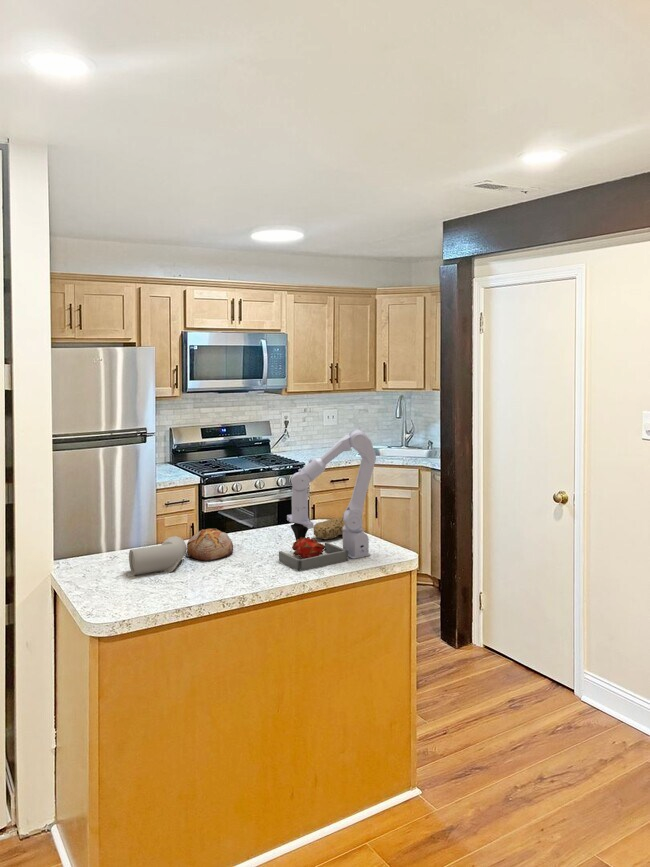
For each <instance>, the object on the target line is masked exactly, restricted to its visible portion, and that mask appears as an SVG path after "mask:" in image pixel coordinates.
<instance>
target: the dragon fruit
mask: <svg viewBox="0 0 650 867" xmlns="http://www.w3.org/2000/svg"><path fill="white" fill-rule="evenodd" d="M291 548H292V550H293V551H294V552H293V553H292V554H293V556H294V557H295V556H299V557H300V560H301V559H305V558H310V557H315V556H320V555H324V554H323V552H325V550H326V548H325V544H322V543H319V542H318V540H317V538H316V539H315V538H313V537H312V538H310V536H307V537H306V536H305V537H304V538H302V537H300V539H297V540H296V539H295V542H293V544H292V547H291Z"/></svg>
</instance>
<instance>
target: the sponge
mask: <svg viewBox="0 0 650 867" xmlns="http://www.w3.org/2000/svg"><path fill="white" fill-rule="evenodd" d="M344 525H345V522H344V520H343V516H339V517H335V518H331V519H327V520H325V521H320V522H317V523H315V524H314V528H313V535H314V536H315V537H316V539H321V540H330V539H334V538H337V537H338V536H341V535H342V536H343V527H344Z"/></svg>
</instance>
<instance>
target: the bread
mask: <svg viewBox="0 0 650 867" xmlns="http://www.w3.org/2000/svg"><path fill="white" fill-rule="evenodd" d="M186 547H187V550H186V553H187V555H188V556H189V557H190V558H191V559H193V560H197V561H205V562H210V561H214V560H219V559H221V558H225V557H229V556H230V555H232V554H233V552H234V544H233V540H232V539H231V538H230V536H229V535H228V533H226V532H224V531H221V530H219V529H217V528H206V529H201V530H199V531H198V532H197V533H195V534H194V535H193V536H191V537H190V538H189V539H188V541H187V543H186Z"/></svg>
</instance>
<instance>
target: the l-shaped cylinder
mask: <svg viewBox="0 0 650 867" xmlns="http://www.w3.org/2000/svg"><path fill="white" fill-rule="evenodd" d="M186 553H187V543H186V542H185V540H184V539H183V538H182V537H180V536H176V535H175V536H174V535H173V536H169V537H167V538H166V539H165V540H164V541H163V542H162V544H160V545H159V544H158V545H152V546H145V547H140V548H132V549H130V550H129V552H128V561H129V562H128V563H129V570H130V573H131V574H132V576H138V575H144V574H151V573H157V572H165V573H171V572H173V571H174V570H175V569H176V568H177V566H178V565H179V564H180V562H181V561H182V559H183V558H184V557H185V555H186Z"/></svg>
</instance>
